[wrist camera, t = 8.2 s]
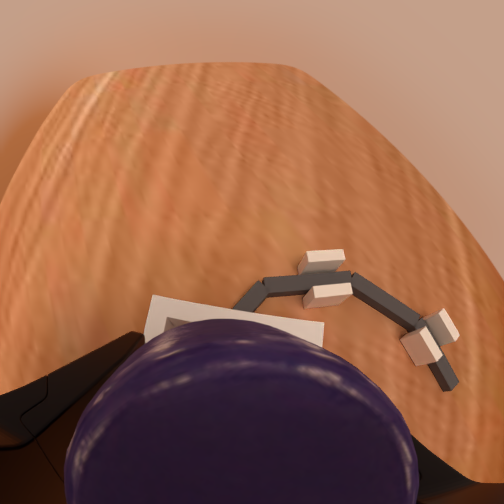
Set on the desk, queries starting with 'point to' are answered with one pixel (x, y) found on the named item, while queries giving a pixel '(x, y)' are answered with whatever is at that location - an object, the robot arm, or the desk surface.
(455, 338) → the clip
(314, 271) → the clip
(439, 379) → the cable run
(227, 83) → the desk surface
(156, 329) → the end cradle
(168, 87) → the desk surface
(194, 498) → the toy lamp
